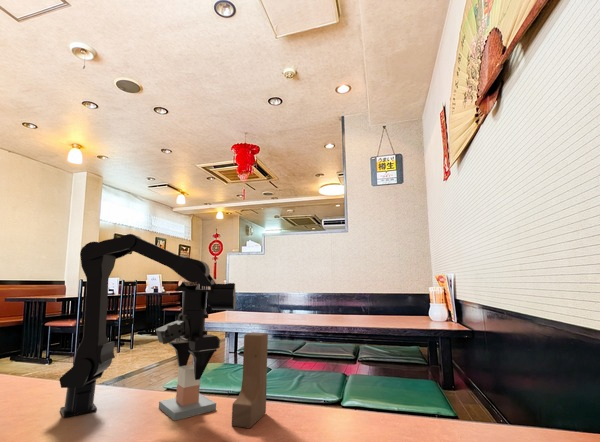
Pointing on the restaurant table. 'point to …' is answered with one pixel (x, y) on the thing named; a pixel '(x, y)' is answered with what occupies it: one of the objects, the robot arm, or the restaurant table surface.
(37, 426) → the restaurant table surface
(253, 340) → the wooden block
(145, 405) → the restaurant table surface
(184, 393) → the terracotta brick
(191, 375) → the cream brick
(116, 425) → the restaurant table surface
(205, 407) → the build plate
